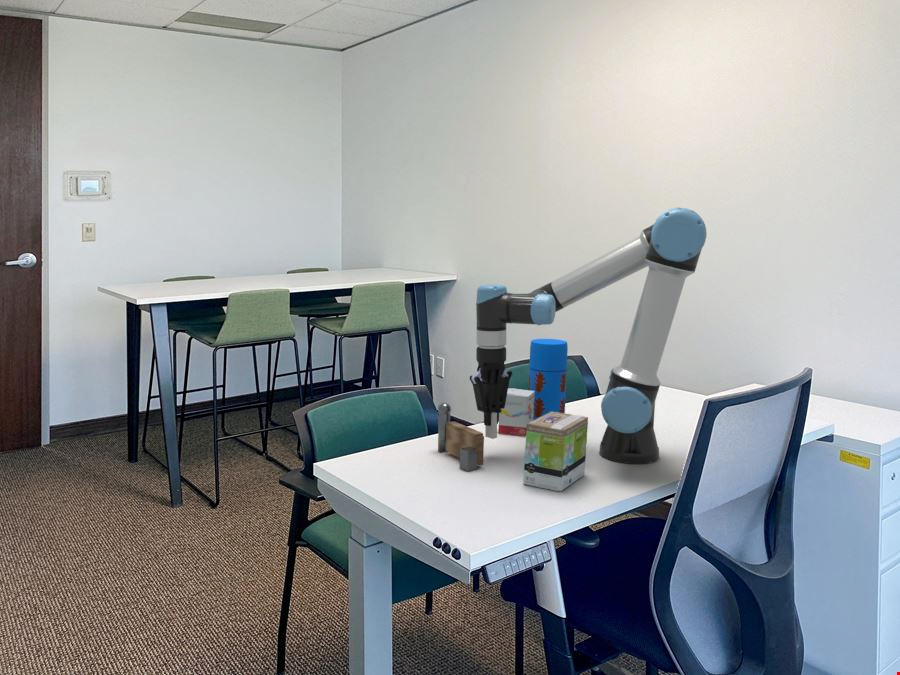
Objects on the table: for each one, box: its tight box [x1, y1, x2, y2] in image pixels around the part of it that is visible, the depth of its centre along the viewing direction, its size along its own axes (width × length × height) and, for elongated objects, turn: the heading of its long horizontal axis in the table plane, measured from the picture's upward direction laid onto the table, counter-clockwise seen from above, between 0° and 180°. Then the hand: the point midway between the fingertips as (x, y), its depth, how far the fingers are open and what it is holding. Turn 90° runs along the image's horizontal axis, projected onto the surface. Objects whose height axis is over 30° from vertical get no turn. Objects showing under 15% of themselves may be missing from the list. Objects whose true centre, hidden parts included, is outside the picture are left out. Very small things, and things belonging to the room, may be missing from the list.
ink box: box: [497, 387, 535, 437], centre depth 232 cm, size 9×9×12 cm
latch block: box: [459, 447, 478, 473], centre depth 198 cm, size 3×3×5 cm
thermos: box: [528, 338, 569, 420], centre depth 239 cm, size 11×11×25 cm
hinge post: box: [437, 402, 452, 453], centre depth 212 cm, size 3×3×13 cm
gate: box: [446, 420, 485, 467], centre depth 204 cm, size 14×2×8 cm, turn 33°
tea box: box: [522, 411, 589, 492], centre depth 191 cm, size 15×10×15 cm
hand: (491, 437), depth 209 cm, fingers closed
